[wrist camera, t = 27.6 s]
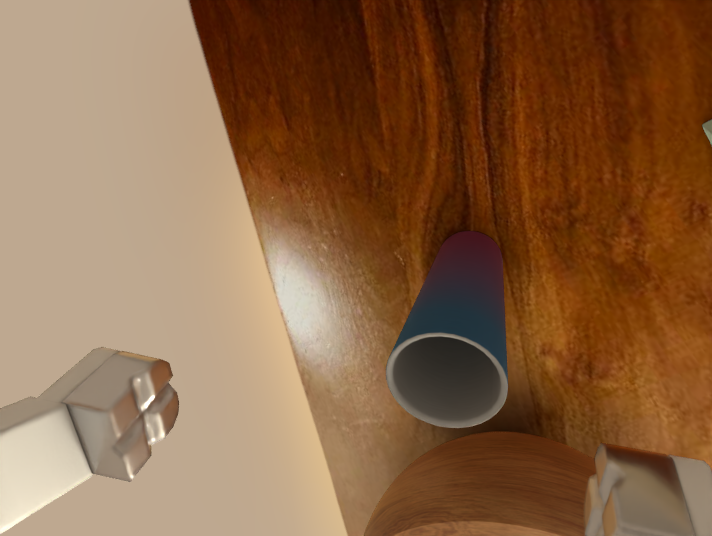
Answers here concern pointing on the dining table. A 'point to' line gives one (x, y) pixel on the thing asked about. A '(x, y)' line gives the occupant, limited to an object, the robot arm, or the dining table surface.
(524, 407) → the dining table surface
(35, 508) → the robot arm
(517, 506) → the bowl
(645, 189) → the dining table surface
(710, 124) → the scale
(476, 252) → the cup
